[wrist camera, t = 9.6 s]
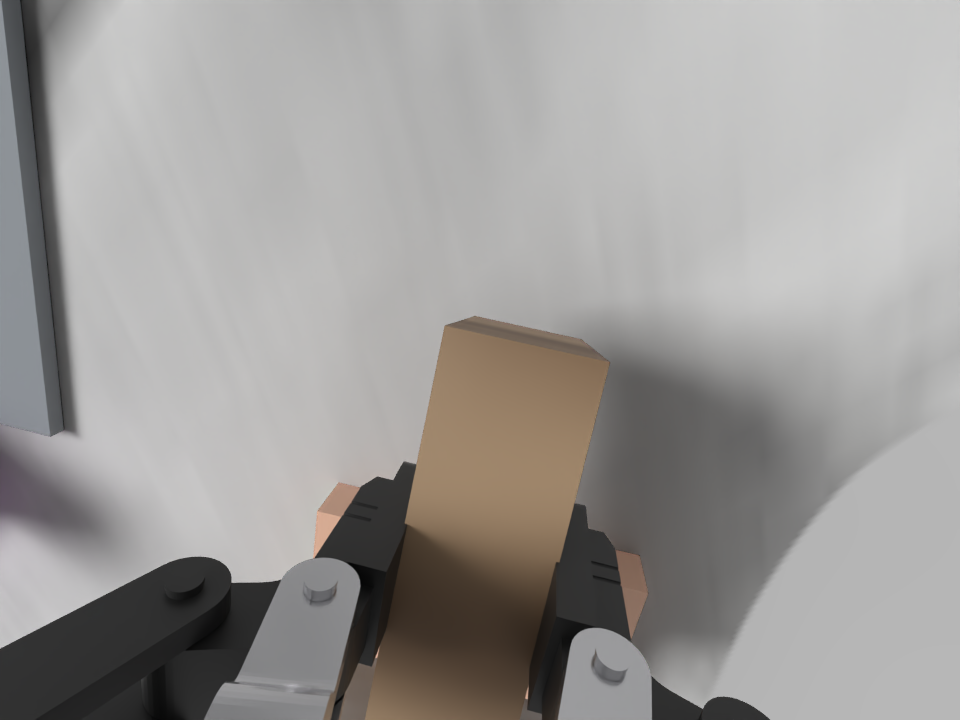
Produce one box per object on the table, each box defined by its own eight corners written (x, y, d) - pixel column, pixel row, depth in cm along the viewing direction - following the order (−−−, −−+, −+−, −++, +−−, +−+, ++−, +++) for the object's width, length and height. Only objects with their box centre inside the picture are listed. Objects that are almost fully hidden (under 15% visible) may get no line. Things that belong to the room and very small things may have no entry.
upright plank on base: (406, 301, 14) (338, 302, 9) (654, 355, 14) (724, 387, 9) (334, 675, 16) (245, 848, 11) (553, 736, 15) (564, 946, 10)
